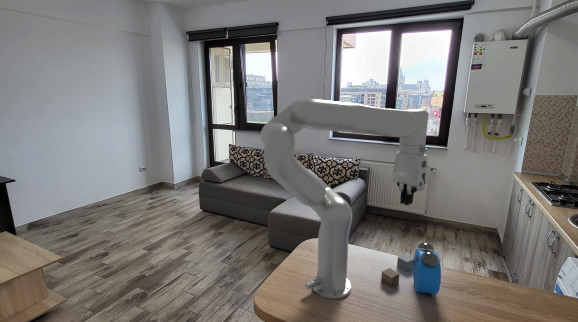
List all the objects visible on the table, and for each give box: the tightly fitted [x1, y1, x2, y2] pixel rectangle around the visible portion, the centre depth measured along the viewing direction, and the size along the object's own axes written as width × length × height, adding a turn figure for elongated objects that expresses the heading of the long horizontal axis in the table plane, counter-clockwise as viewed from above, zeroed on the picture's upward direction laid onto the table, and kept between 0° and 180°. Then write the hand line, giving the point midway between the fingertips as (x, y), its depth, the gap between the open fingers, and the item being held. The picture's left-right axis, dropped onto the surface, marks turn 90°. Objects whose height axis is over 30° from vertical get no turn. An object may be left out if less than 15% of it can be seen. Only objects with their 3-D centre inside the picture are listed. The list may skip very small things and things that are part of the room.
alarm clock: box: [412, 241, 442, 298], centre depth 94 cm, size 13×6×15 cm, turn 165°
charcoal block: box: [396, 253, 414, 273], centre depth 107 cm, size 4×4×4 cm
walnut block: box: [380, 267, 400, 289], centre depth 98 cm, size 4×4×4 cm
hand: (406, 203), depth 96 cm, fingers closed
